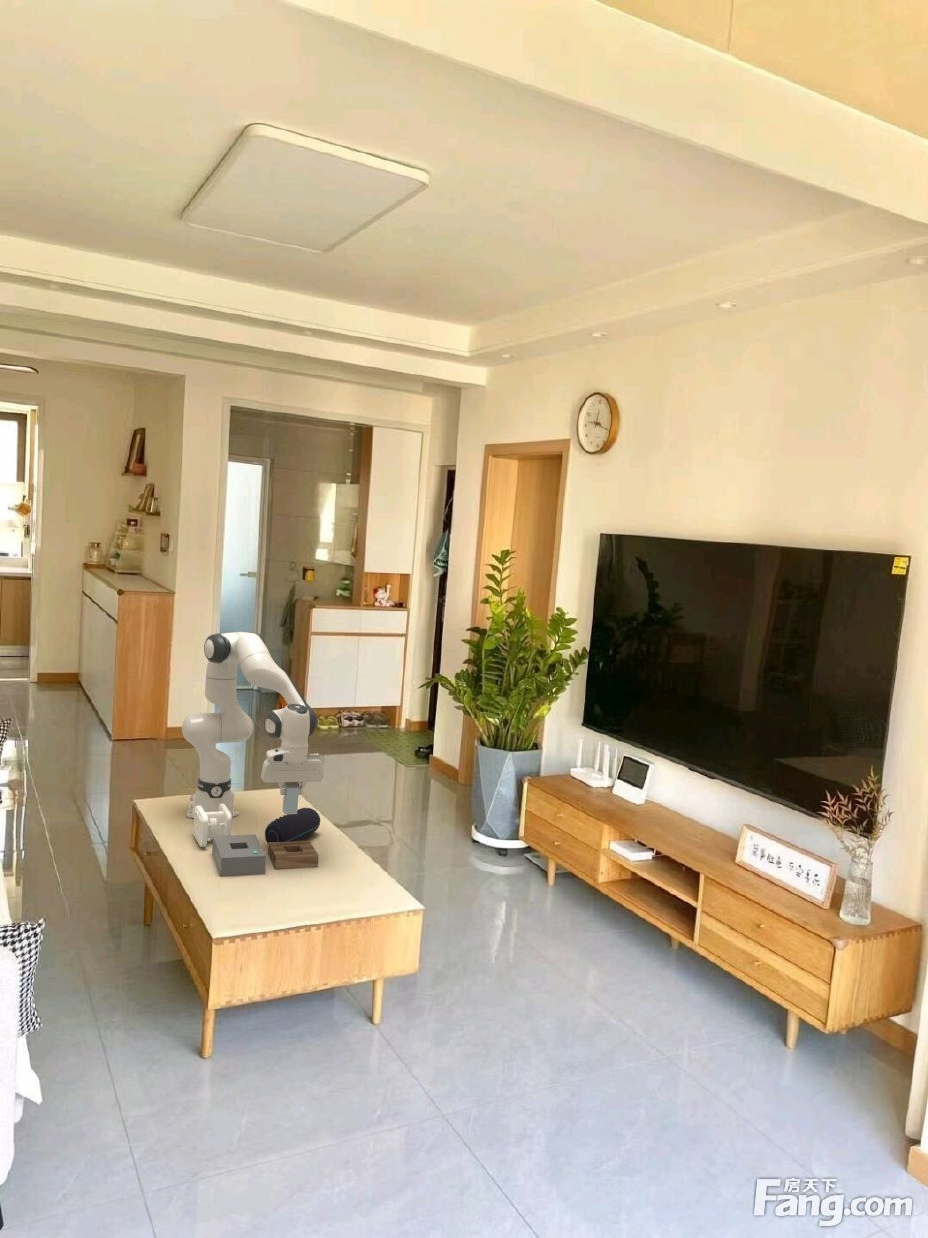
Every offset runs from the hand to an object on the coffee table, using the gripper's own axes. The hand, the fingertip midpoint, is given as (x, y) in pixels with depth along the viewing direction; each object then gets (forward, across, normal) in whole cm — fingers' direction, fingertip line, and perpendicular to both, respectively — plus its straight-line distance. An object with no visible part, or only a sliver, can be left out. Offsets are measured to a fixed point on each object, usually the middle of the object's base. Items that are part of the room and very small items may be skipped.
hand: (291, 794), depth 319 cm
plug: (+6, 0, 0) cm, 6 cm away
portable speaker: (+23, -6, -18) cm, 30 cm away
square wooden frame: (+23, -2, 0) cm, 23 cm away
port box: (+23, +16, 0) cm, 28 cm away
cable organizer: (+23, +22, -21) cm, 38 cm away
